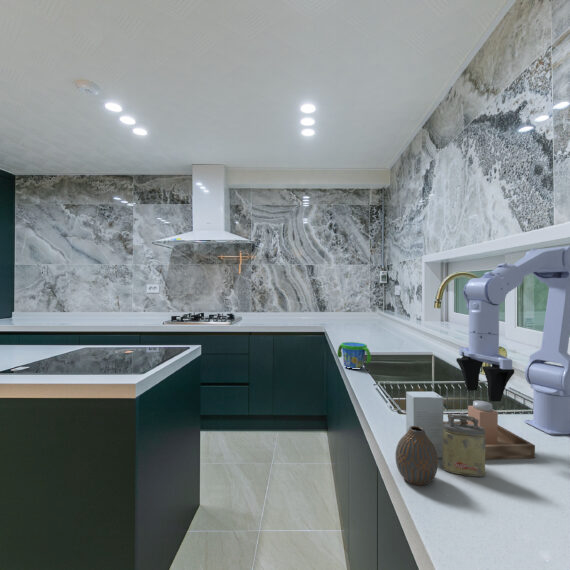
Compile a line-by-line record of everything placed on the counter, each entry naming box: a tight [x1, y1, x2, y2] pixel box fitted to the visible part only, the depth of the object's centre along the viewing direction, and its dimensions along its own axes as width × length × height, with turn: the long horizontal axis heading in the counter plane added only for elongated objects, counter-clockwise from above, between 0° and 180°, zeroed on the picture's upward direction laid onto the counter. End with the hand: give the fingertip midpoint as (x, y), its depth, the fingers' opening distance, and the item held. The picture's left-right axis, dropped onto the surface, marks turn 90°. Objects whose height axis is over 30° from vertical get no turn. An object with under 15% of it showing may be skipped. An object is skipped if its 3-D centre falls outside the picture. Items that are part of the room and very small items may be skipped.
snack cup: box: [337, 341, 372, 368], centre depth 146 cm, size 16×10×10 cm
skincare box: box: [405, 391, 444, 459], centre depth 70 cm, size 6×4×12 cm
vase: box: [395, 426, 439, 486], centre depth 61 cm, size 7×7×9 cm
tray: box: [443, 420, 536, 460], centre depth 75 cm, size 13×13×2 cm
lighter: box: [441, 413, 486, 478], centre depth 63 cm, size 7×4×10 cm, turn 74°
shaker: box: [467, 400, 499, 445], centre depth 75 cm, size 4×4×8 cm
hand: (482, 395), depth 76 cm, fingers open, 7 cm apart
